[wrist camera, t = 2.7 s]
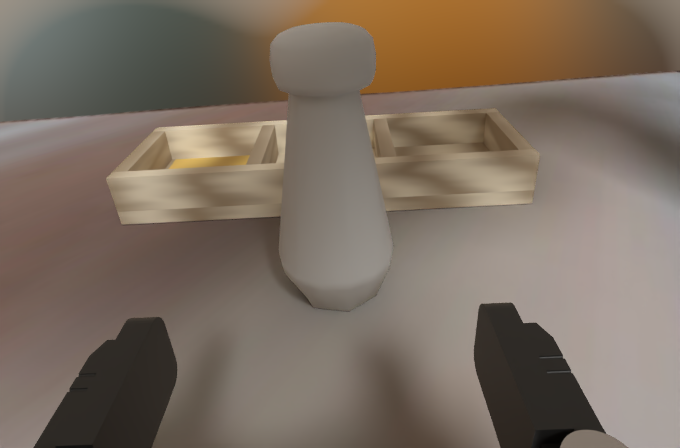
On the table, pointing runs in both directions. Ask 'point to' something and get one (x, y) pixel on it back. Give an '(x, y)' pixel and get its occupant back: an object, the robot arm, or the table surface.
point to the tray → (269, 153)
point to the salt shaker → (330, 167)
